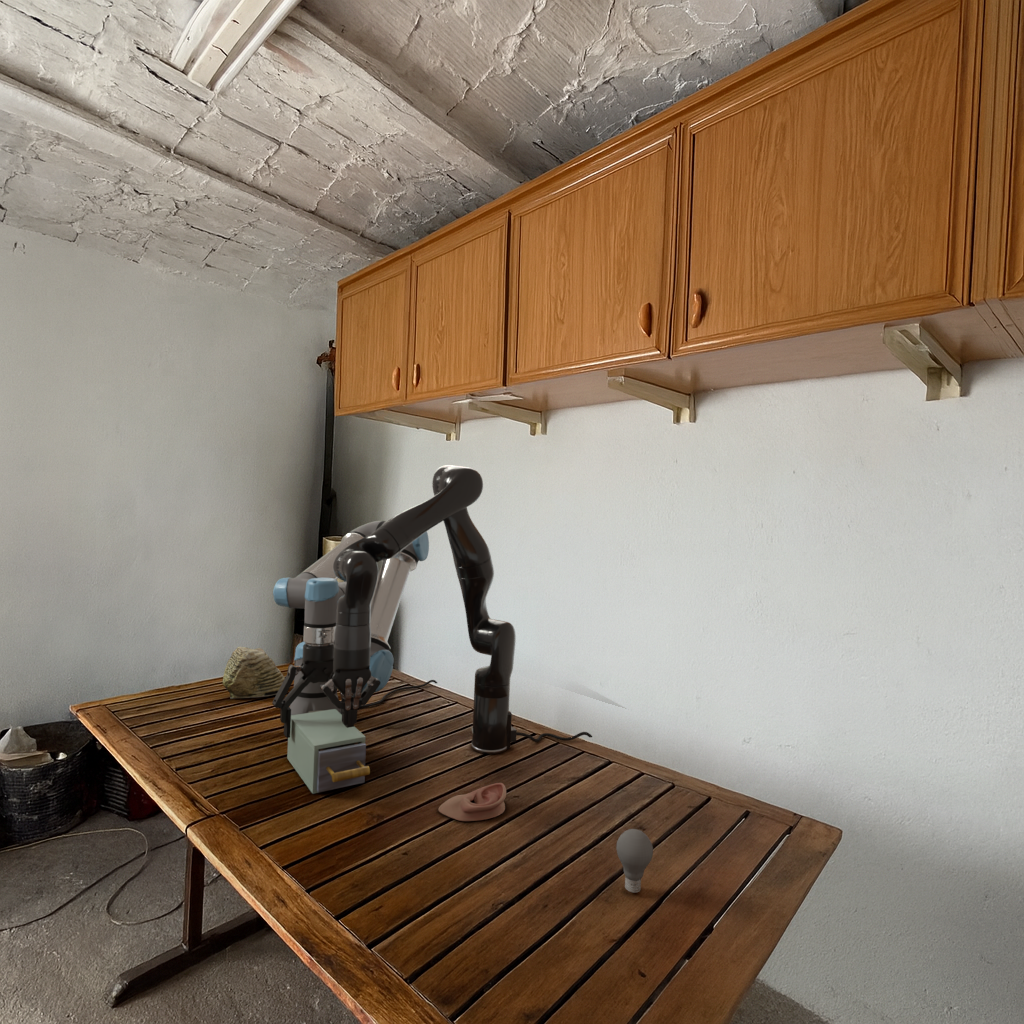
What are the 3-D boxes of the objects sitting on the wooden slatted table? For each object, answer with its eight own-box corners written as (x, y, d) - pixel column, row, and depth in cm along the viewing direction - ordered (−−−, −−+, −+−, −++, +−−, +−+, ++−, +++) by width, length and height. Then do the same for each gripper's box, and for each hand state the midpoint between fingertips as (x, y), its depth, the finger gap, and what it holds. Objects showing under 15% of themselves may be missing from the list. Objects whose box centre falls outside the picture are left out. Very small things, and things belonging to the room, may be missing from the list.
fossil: (218, 695, 195) (220, 647, 195) (278, 685, 208) (279, 640, 207) (228, 703, 189) (230, 653, 188) (289, 692, 201) (290, 645, 201)
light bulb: (610, 879, 108) (613, 822, 108) (644, 879, 109) (647, 822, 109) (619, 902, 102) (622, 840, 102) (655, 901, 103) (658, 840, 103)
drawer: (374, 793, 134) (376, 754, 134) (327, 804, 129) (328, 763, 128) (335, 751, 155) (337, 716, 155) (293, 758, 150) (294, 723, 150)
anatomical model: (434, 797, 127) (451, 773, 138) (433, 817, 127) (450, 791, 138) (498, 806, 124) (510, 781, 135) (497, 826, 124) (509, 800, 136)
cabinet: (363, 782, 141) (365, 736, 141) (312, 794, 135) (314, 745, 135) (333, 749, 158) (335, 708, 158) (287, 758, 152) (288, 715, 152)
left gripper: (269, 651, 142) (265, 745, 142) (374, 641, 156) (371, 727, 156) (261, 644, 148) (257, 734, 148) (363, 635, 162) (360, 718, 162)
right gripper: (326, 651, 127) (323, 737, 127) (388, 645, 134) (385, 726, 134) (315, 643, 133) (312, 725, 133) (375, 638, 140) (372, 715, 140)
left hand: (315, 731), depth 152 cm, fingers open, 13 cm apart
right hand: (349, 726), depth 134 cm, fingers closed
